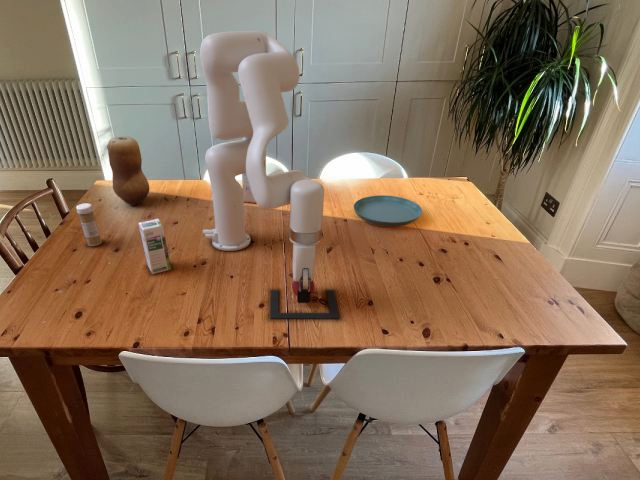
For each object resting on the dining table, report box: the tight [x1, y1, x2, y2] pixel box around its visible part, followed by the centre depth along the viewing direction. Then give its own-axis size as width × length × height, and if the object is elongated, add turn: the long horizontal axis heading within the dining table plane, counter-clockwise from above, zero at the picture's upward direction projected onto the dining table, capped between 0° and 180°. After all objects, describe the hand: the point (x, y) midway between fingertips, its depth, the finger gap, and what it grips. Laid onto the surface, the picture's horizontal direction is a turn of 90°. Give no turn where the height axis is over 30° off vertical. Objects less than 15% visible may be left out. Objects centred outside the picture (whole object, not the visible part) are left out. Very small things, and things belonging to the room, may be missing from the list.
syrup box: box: [138, 218, 172, 275], centre depth 117 cm, size 6×6×14 cm
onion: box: [291, 277, 316, 297], centre depth 106 cm, size 6×6×8 cm
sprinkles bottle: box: [75, 202, 103, 248], centre depth 130 cm, size 5×5×14 cm
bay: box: [269, 289, 340, 320], centre depth 106 cm, size 17×12×1 cm
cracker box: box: [241, 148, 267, 204], centre depth 160 cm, size 14×6×21 cm, turn 164°
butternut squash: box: [106, 136, 150, 207], centre depth 155 cm, size 14×13×25 cm
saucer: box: [353, 194, 423, 228], centre depth 149 cm, size 24×24×3 cm
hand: (302, 294), depth 107 cm, fingers closed on onion, 5 cm apart
